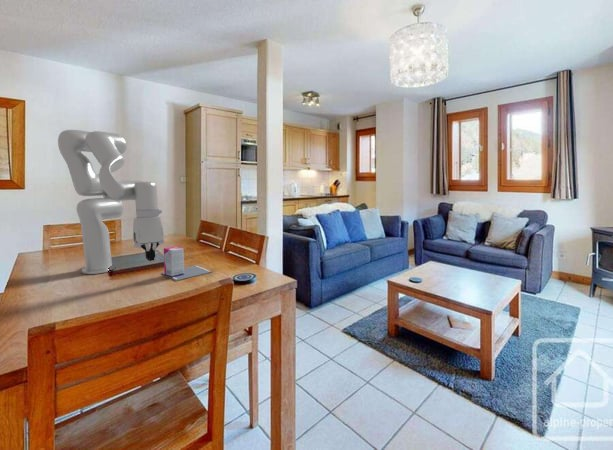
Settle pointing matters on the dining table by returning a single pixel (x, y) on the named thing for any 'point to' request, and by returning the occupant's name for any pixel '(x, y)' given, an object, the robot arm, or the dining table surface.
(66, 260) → the dining table surface
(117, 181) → the robot arm
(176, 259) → the supplement box
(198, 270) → the mat
